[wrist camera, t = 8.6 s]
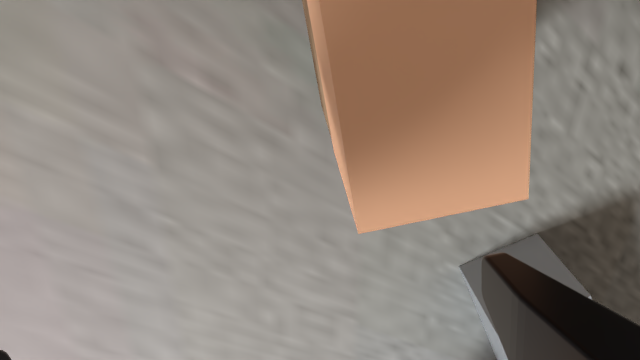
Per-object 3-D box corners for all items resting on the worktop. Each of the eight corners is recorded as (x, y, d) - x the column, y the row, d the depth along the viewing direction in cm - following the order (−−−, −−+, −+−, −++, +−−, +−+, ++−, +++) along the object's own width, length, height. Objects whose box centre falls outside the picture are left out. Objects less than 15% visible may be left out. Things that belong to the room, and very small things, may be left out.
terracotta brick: (459, 125, 15) (528, 199, 11) (333, 151, 15) (358, 233, 11) (447, -190, 11) (546, -247, 7) (278, -156, 11) (286, -194, 7)
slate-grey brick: (565, 335, 27) (616, 406, 23) (497, 361, 28) (536, 435, 24) (535, 231, 23) (591, 295, 19) (457, 264, 24) (496, 333, 20)
